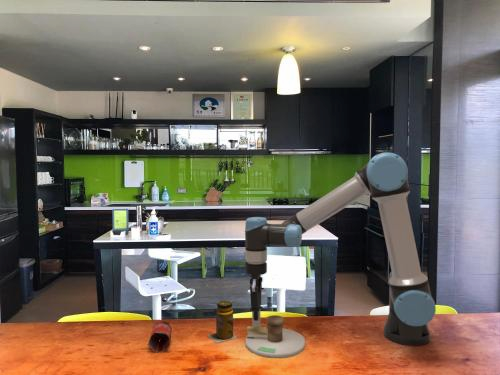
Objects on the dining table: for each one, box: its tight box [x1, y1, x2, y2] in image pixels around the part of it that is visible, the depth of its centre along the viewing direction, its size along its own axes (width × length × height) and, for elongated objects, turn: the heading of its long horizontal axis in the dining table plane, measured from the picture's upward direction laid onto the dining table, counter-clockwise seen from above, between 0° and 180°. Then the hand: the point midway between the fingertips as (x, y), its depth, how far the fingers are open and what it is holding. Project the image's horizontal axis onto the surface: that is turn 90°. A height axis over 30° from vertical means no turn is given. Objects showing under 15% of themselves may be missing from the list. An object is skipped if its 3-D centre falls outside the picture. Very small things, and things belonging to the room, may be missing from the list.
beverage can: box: [147, 320, 173, 353], centre depth 133 cm, size 7×12×7 cm, turn 8°
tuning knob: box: [246, 314, 285, 342], centre depth 133 cm, size 12×6×7 cm, turn 80°
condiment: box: [206, 300, 238, 344], centre depth 139 cm, size 7×8×12 cm
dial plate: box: [245, 327, 306, 359], centre depth 133 cm, size 20×20×2 cm
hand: (256, 328), depth 138 cm, fingers closed
